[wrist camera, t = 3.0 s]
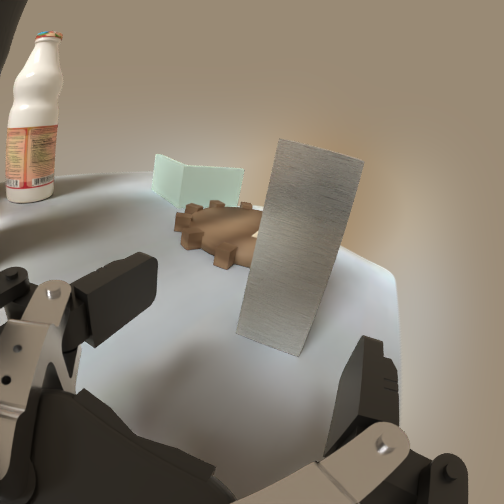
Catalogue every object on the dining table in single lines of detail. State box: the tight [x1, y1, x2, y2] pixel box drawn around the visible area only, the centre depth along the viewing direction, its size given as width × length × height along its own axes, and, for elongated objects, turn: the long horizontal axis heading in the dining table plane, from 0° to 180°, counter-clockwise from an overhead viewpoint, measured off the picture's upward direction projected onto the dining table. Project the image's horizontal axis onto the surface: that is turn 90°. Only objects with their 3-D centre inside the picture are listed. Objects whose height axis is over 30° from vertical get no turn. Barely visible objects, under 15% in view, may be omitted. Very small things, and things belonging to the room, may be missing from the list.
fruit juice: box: [6, 32, 63, 203], centre depth 33 cm, size 9×9×28 cm
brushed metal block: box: [236, 139, 364, 357], centre depth 20 cm, size 5×5×14 cm
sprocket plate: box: [174, 200, 263, 270], centre depth 40 cm, size 22×22×2 cm
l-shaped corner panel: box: [152, 154, 244, 209], centre depth 52 cm, size 12×12×8 cm
